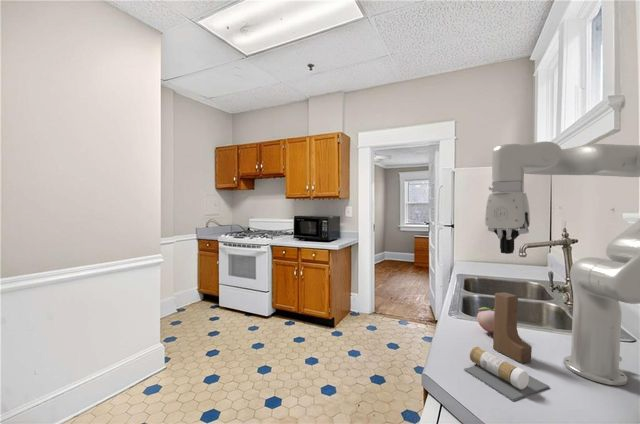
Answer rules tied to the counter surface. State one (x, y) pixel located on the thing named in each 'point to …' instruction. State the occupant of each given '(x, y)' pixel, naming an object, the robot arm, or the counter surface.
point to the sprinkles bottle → (500, 368)
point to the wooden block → (508, 329)
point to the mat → (506, 383)
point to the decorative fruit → (486, 319)
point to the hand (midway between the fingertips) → (507, 252)
